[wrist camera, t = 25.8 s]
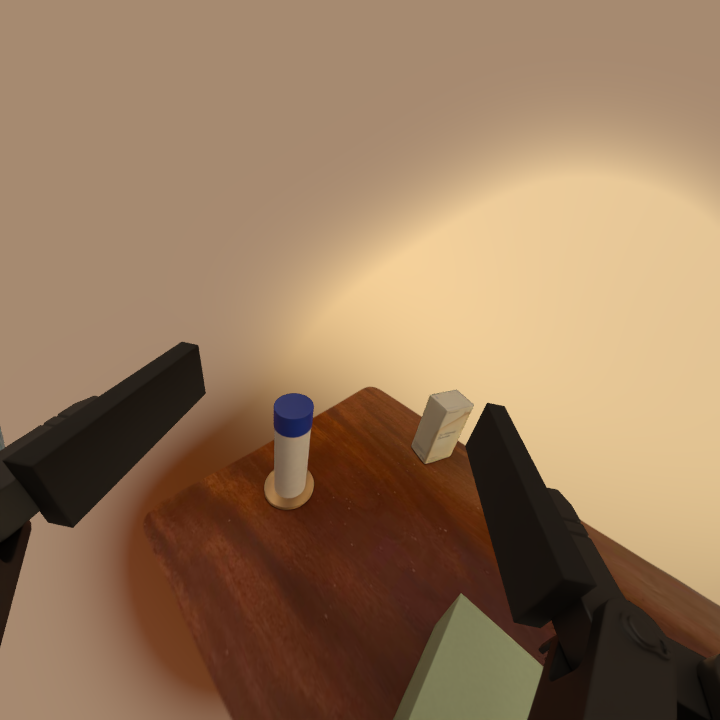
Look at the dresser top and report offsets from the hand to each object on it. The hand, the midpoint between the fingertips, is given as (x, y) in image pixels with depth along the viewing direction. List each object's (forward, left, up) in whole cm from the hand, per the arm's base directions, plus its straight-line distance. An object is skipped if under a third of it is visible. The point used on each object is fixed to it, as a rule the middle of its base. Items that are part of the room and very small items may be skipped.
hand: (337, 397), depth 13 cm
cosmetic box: (+27, +17, -30) cm, 44 cm away
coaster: (+1, +16, -30) cm, 34 cm away
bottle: (+1, +16, -29) cm, 34 cm away
